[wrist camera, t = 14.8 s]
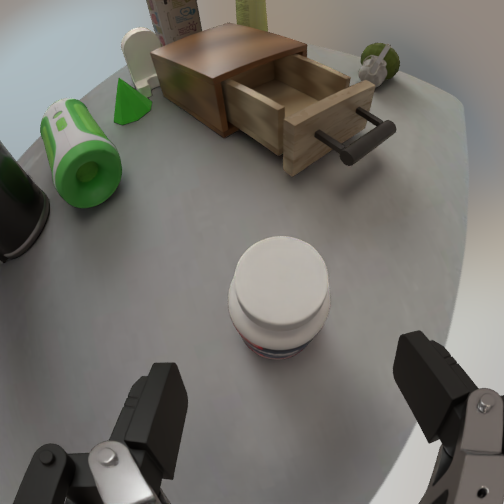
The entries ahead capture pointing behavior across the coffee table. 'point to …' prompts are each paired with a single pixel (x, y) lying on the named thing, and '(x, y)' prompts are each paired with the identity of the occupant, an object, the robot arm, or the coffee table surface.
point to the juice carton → (174, 19)
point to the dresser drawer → (303, 111)
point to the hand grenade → (378, 63)
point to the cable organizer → (141, 58)
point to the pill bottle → (279, 296)
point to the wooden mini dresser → (215, 67)
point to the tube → (252, 14)
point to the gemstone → (129, 104)
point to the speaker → (79, 154)
